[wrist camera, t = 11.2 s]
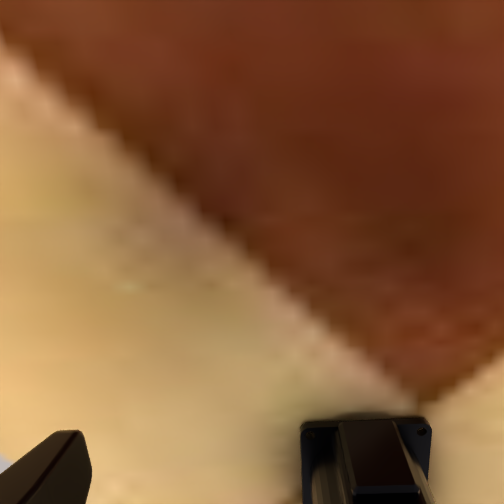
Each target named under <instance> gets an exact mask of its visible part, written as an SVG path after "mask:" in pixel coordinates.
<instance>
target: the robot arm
mask: <svg viewBox="0 0 504 504" xmlns="http://www.w3.org/2000/svg"><path fill="white" fill-rule="evenodd" d="M419 428H423V429H421V430H418V429H419ZM307 432H313V433H312V434H307ZM431 436H432V429H431V426H430V424H429V422H428V421H427V420H426V419H424V418H406V419H380V420H353V421H327V422H308V423H305V424H303V425H302V426H301V427H300V448H301V474H302V500H303V504H436V503H435V500H434V498H433V495H432V493H431V490H430V488H429V485H428V483H427V482H428V470H429V459H430V447H431ZM91 479H92V466H91V462H90V458H89V454H88V450H87V446H86V442H85V438H84V435H83V433H82V432H81V431H79V430H60V431H56V432H54V433H53V434H51V435H50V436H49V437H47V438H46V439H45V440H44V441H42V442H41V443H40V444H38V445H37V446H36V447H35V448H33V449H32V450H31V451H29V452H28V453H27V454H25V455H24V456H23V457H22V458H20V459H19V460H18V461H16V462H15V463H14V464H13V465H11V466H10V467H9V468H8V469H6V470H5V471H4V472H2V473H1V474H0V504H86V500H87V496H88V492H89V488H90V484H91Z"/></svg>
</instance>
